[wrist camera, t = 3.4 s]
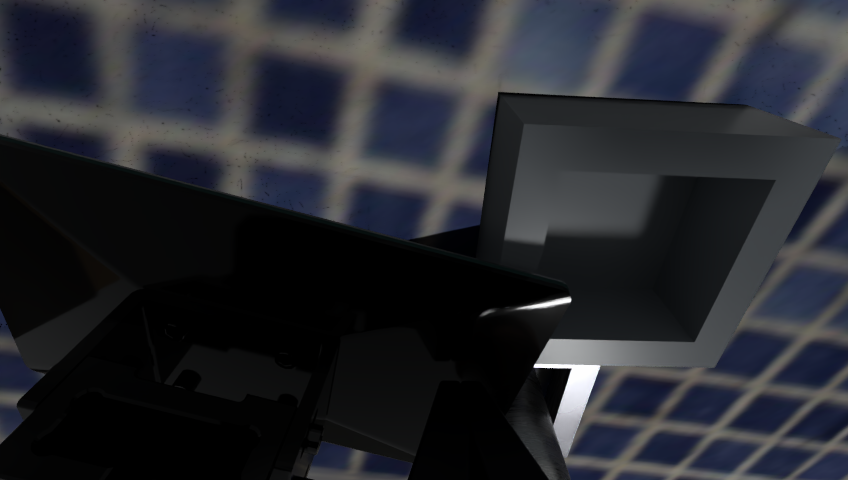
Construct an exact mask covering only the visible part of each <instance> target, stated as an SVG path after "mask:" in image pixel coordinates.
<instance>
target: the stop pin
mask: <svg viewBox="0 0 848 480" xmlns="http://www.w3.org/2000/svg"><path fill="white" fill-rule="evenodd" d="M505 417H506V418H507V420H508V421H509V423H510V424H511V426H512V427H513V428H514V430H515V431H516V433H517V434H518V436H519V437H520V438H521V440H522V441H523V443H524V444H525V446H526V447H527V449H528V450H529V451H530V453H531V454H532V456H533V457H534V459H535V460H536V461H537V463H538V464H539V466H540V467H541V469H542V470H543V472H544V473H545V474H546V476H547V477H548V479H549V480H571V479H570V476H569V473H568V470H567V467H566V464H565V461H564V458H563V454H562V451H561V448H560V445H559V442H558V439H557V436H556V433H555V430H554V427H553V423H552V420H551V417H550V414H549V411H548V408H547V405H546V402H545V399H544V396H543V393H542V389H541V386H540V383H539V380H538V377H537V374H536V371H535V369H534V367H533V369H532V370H531V372H530V374H529V376H528V377H527V379H526V381H525V383H524V384H523V386H522V388H521V389H520V391H519V393H518V395H517V396H516V398H515V400H514V402H513V403H512V405H511V407H510V409H509V410H508V412H507V414H506V415H505Z"/></svg>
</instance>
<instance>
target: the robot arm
mask: <svg viewBox="0 0 848 480" xmlns="http://www.w3.org/2000/svg"><path fill="white" fill-rule="evenodd" d="M408 480H549V479H548V477H547V476H546V474H545V473H544V472H543V470H542V469H541V467H540V466H539V464H538V463H537V461H536V460H535V459H534V457H533V456H532V454H531V453H530V451H529V450H528V449H527V447H526V446H525V444H524V443H523V441H522V440H521V438H520V437H519V436H518V434H517V433H516V431H515V430H514V428H513V427H512V426H511V424H510V423H509V421H508V420H507V418H506V417H505V415H504V414H503V413H502V411H501V410H500V408H499V407H498V405H497V404H496V403H495V401H494V400H493V398H492V397H491V395H490V394H489V392H488V391H487V390H486V388H485V387H484V385H483V384H482V383H481V382H479V381H462V382H461V383H460V382H459V381H446V380H443V381H441V382H440V383H439V386H438V389H437V392H436V395H435V398H434V401H433V404H432V407H431V410H430V413H429V416H428V419H427V422H426V426H425V429H424V432H423V435H422V438H421V441H420V444H419V447H418V450H417V453H416V456H415V459H414V462H413V465H412V468H411V471H410V474H409V477H408Z"/></svg>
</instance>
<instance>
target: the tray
mask: <svg viewBox="0 0 848 480" xmlns="http://www.w3.org/2000/svg"><path fill="white" fill-rule="evenodd" d="M840 141H841V139H840V138H837V137H834V136H832V135H829V134H826V133H823V132H821V131H818V130H815V129H812V128H809V127H807V126H804V125H801V124H798V123H795V122H793V121H790V120H787V119H784V118H781V117H779V116H776V115H773V114H770V113H767V112H765V111H762V110H759V109H756V108H753V107H751V106H748V105H741V104H721V103H702V102H682V101H663V100H643V99H624V98H604V97H585V96H565V95H546V94H526V93H507V92H498V98H497V105H496V112H495V119H494V127H493V134H492V141H491V149H490V156H489V163H488V171H487V178H486V185H485V193H484V200H483V207H482V215H481V222H480V229H479V237H478V244H477V251H476V258H477V259H481V260H484V261H488V262H492V263H496V264H500V265H504V266H507V267H511V268H515V269H519V270H523V271H527V272H531V273H534V274H538V275H542V276H546V277H550V278H554V279H557V280H561V281H563V282H565V283H566V284H567V286H568V288H569V291H570V296H571V303H570V305H569V306H568V308H567V310H566V312H565V313H564V315H563V317H562V319H561V320H560V322H559V324H558V326H557V327H556V329H555V331H554V332H553V334H552V336H551V338H550V339H549V341H548V343H547V345H546V346H545V348H544V350H543V351H542V353H541V355H540V357H539V358H538V360H537V362H536V364H552V365H603V366H653V367H704V368H715V366H716V364H717V362H718V361H719V359H720V357H721V355H722V353H723V352H724V350H725V348H726V346H727V344H728V343H729V341H730V339H731V337H732V335H733V334H734V332H735V330H736V328H737V326H738V325H739V323H740V321H741V319H742V317H743V316H744V314H745V312H746V310H747V308H748V307H749V305H750V303H751V301H752V299H753V298H754V296H755V294H756V292H757V290H758V289H759V287H760V285H761V283H762V281H763V280H764V278H765V276H766V274H767V272H768V271H769V269H770V267H771V265H772V263H773V262H774V260H775V258H776V256H777V254H778V253H779V251H780V249H781V247H782V245H783V244H784V242H785V240H786V238H787V236H788V235H789V233H790V231H791V229H792V227H793V226H794V224H795V222H796V220H797V218H798V217H799V215H800V213H801V211H802V209H803V208H804V206H805V204H806V202H807V200H808V199H809V197H810V195H811V193H812V191H813V190H814V188H815V186H816V184H817V182H818V181H819V179H820V177H821V175H822V173H823V172H824V170H825V168H826V166H827V164H828V163H829V161H830V159H831V157H832V155H833V154H834V152H835V150H836V148H837V146H838V145H839V143H840Z"/></svg>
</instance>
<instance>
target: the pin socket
mask: <svg viewBox="0 0 848 480" xmlns="http://www.w3.org/2000/svg"><path fill="white" fill-rule="evenodd" d="M534 367H535V368H554V371H553V374H552V377H551V381H550V384H549V388H548V391H547V395H546V398H545V402H546V405H547V408H548V411H549V414H550V417H551V420H552V423H553V427H554V430H555V433H556V436H557V439H558V442H559V445H560V448H561V451H562V454H563V457H567V455H568V453H569V450H570V447H571V444H572V442H573V439H574V436H575V434H576V431H577V428H578V425H579V423H580V420H581V417H582V414H583V412H584V409H585V406H586V403H587V401H588V398H589V395H590V393H591V390H592V387H593V384H594V382H595V379H596V376H597V373H598V371H599V368H600V365H552V364H535V365H534Z"/></svg>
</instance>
